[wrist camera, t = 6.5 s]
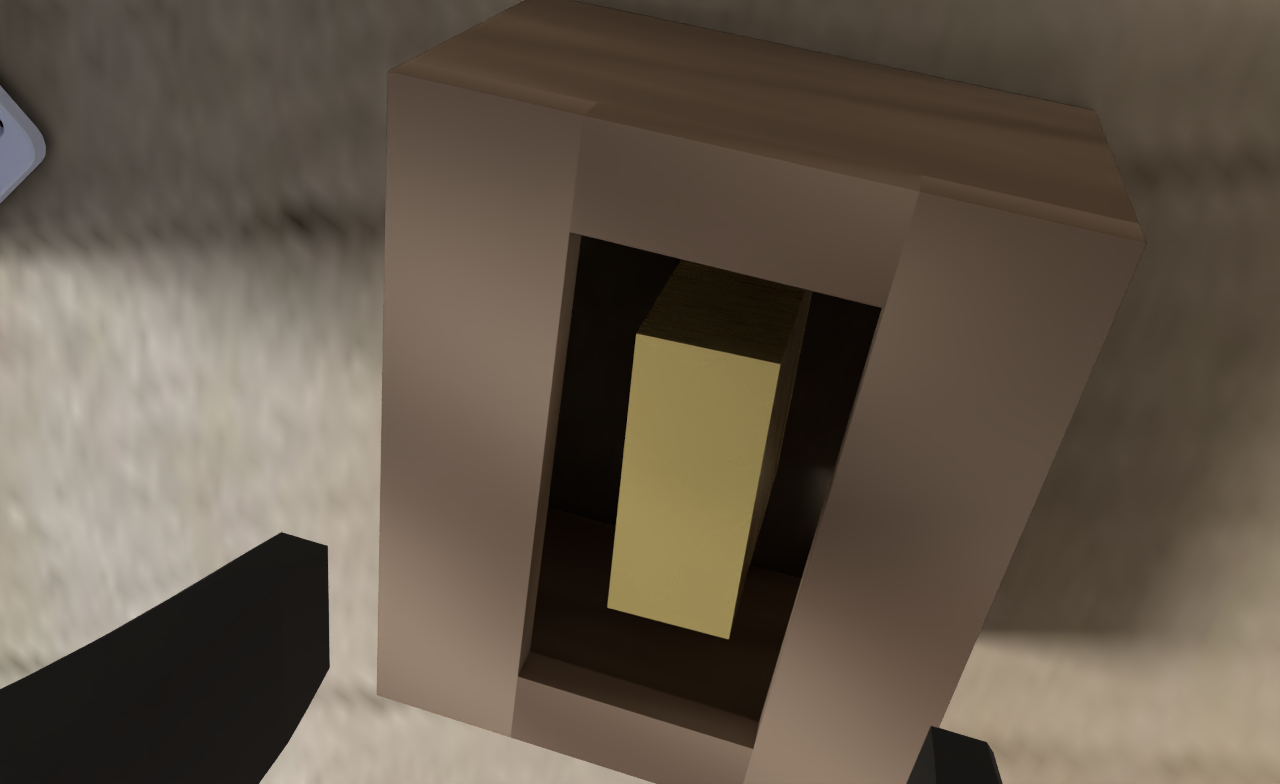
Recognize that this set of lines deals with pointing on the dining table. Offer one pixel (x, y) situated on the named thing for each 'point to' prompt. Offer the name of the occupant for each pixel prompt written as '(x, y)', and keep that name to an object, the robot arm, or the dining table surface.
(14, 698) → the robot arm
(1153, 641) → the dining table surface
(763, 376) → the yellow rectangular block
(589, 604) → the box
